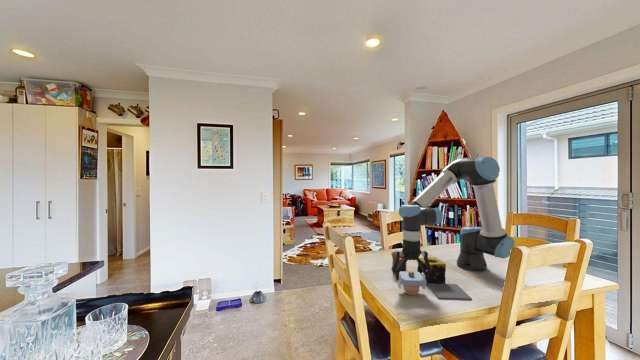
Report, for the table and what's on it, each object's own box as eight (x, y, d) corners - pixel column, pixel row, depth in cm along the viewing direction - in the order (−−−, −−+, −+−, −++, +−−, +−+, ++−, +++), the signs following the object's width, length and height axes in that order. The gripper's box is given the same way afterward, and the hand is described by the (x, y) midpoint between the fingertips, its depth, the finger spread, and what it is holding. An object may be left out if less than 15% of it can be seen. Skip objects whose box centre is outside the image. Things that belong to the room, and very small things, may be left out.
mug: (390, 268, 143) (390, 251, 143) (406, 270, 141) (406, 251, 141) (392, 277, 131) (392, 257, 131) (409, 278, 129) (409, 259, 129)
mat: (456, 285, 121) (456, 284, 121) (471, 299, 107) (471, 298, 107) (426, 284, 122) (426, 283, 122) (438, 298, 108) (438, 297, 108)
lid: (419, 276, 119) (419, 268, 119) (426, 286, 109) (426, 277, 109) (397, 276, 119) (397, 267, 119) (402, 285, 109) (402, 276, 109)
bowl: (416, 289, 117) (416, 278, 117) (421, 296, 110) (421, 284, 110) (401, 288, 118) (401, 277, 118) (405, 296, 111) (405, 284, 111)
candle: (416, 276, 133) (416, 257, 132) (434, 275, 134) (435, 256, 133) (426, 284, 123) (426, 264, 122) (446, 283, 123) (446, 263, 123)
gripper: (434, 237, 116) (433, 284, 117) (384, 236, 118) (384, 283, 119) (440, 241, 109) (440, 292, 110) (387, 240, 111) (387, 290, 111)
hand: (411, 287), depth 114 cm, fingers closed on lid, 10 cm apart
